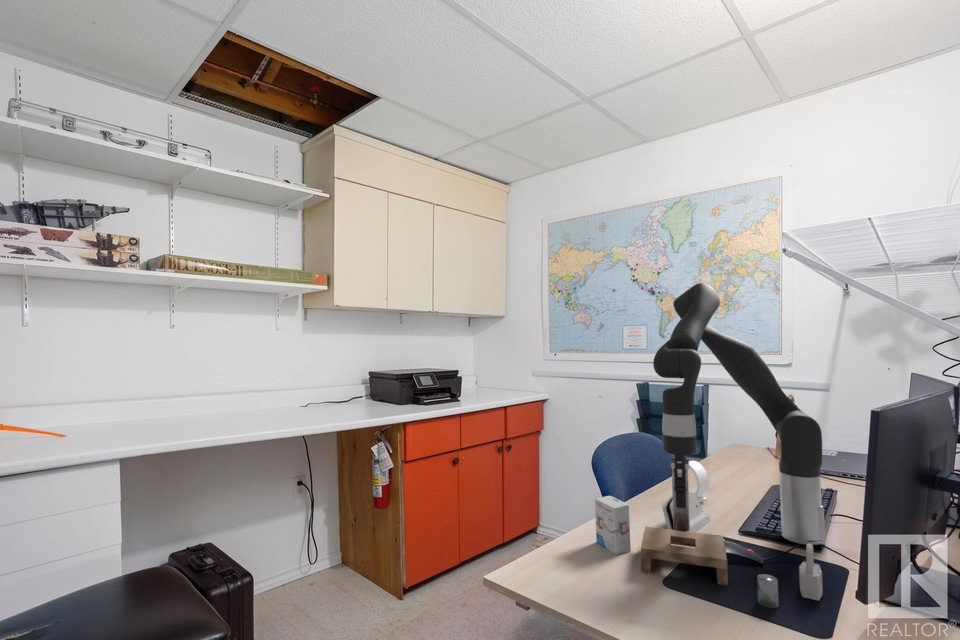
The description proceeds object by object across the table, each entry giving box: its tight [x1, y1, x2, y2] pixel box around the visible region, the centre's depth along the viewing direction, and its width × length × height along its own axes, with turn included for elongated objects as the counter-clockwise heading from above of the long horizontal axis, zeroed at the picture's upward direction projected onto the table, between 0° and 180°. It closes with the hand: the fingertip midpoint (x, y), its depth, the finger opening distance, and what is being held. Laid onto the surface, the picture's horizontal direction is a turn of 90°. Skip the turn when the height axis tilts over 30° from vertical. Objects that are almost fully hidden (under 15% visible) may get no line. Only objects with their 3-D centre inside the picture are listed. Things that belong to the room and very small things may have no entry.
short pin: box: [756, 573, 779, 609], centre depth 102 cm, size 4×4×5 cm
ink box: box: [594, 495, 632, 555], centre depth 130 cm, size 9×5×12 cm, turn 23°
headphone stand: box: [689, 460, 710, 504], centre depth 164 cm, size 5×6×12 cm
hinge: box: [662, 491, 711, 533], centre depth 143 cm, size 17×5×10 cm, turn 134°
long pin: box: [671, 478, 690, 532], centre depth 119 cm, size 4×4×12 cm
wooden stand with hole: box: [640, 526, 729, 586], centre depth 119 cm, size 18×14×6 cm
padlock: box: [798, 543, 824, 602], centre depth 106 cm, size 7×4×10 cm, turn 144°
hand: (681, 504), depth 119 cm, fingers closed on long pin, 3 cm apart
